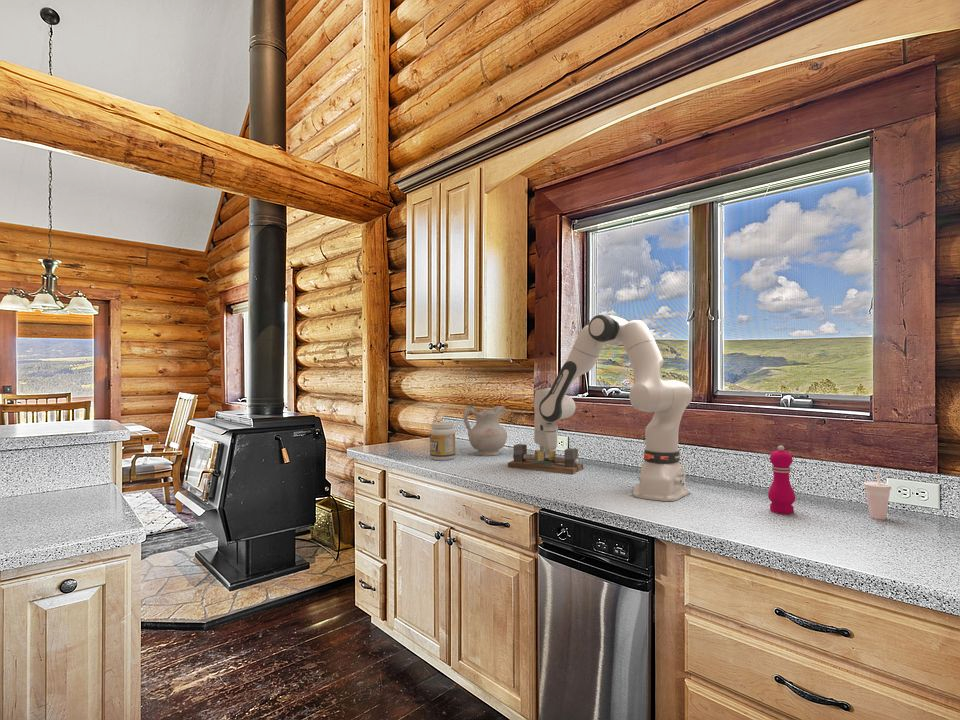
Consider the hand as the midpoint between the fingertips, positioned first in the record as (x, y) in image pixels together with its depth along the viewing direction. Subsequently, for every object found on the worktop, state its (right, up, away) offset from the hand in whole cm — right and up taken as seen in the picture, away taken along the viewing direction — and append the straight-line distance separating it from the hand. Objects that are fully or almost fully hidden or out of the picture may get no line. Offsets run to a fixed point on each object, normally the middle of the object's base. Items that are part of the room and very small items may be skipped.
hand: (545, 456), depth 225 cm
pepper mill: (+64, -4, -67) cm, 92 cm away
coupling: (0, -1, 0) cm, 1 cm away
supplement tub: (-46, -6, +24) cm, 52 cm away
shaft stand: (0, -5, 0) cm, 5 cm away
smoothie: (+87, -4, -74) cm, 115 cm away
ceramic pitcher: (-25, -5, +35) cm, 44 cm away
